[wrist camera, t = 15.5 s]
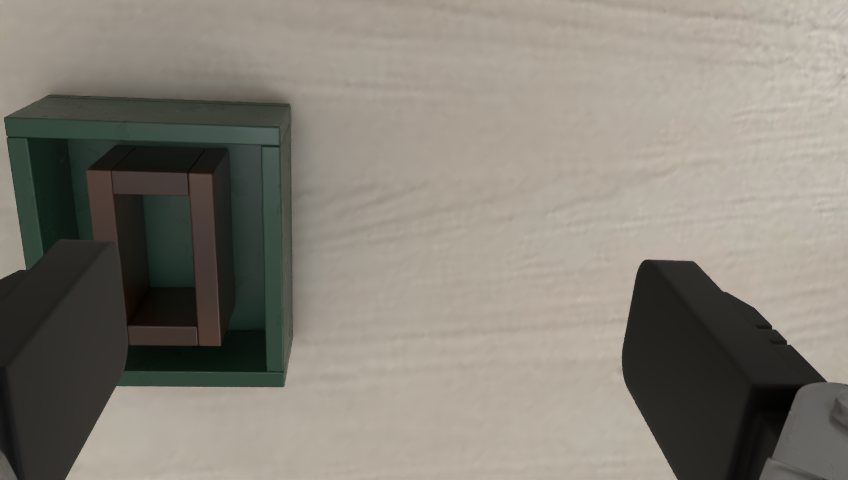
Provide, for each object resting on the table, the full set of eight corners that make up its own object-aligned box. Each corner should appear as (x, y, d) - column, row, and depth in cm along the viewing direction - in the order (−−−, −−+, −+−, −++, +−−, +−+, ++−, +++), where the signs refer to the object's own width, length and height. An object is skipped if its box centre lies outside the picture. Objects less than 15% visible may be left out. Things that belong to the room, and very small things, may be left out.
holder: (48, 94, 34) (2, 117, 29) (290, 103, 35) (280, 126, 30) (78, 336, 38) (43, 385, 34) (293, 338, 39) (284, 387, 35)
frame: (115, 144, 34) (84, 169, 30) (228, 148, 35) (212, 173, 31) (130, 304, 37) (105, 345, 33) (235, 306, 37) (221, 346, 34)
